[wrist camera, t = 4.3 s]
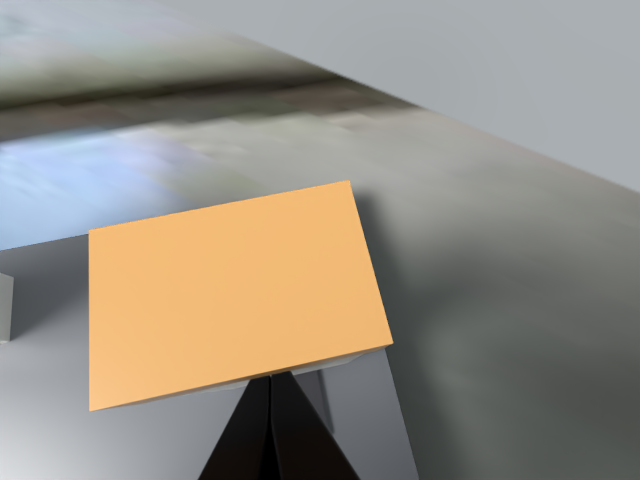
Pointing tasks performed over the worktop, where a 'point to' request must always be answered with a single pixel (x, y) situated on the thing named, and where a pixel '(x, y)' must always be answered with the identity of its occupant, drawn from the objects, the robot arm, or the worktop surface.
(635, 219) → the worktop surface
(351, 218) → the block
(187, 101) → the worktop surface
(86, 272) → the grey plate with uprights
